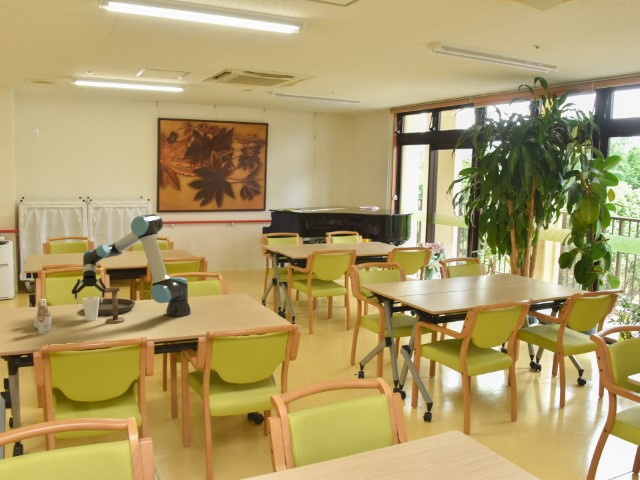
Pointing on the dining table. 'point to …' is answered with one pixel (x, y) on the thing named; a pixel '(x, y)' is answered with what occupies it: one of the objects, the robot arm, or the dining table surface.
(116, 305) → the walnut post
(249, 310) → the dining table surface
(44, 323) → the cosmetic set
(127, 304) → the plant saucer
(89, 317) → the foam cup
